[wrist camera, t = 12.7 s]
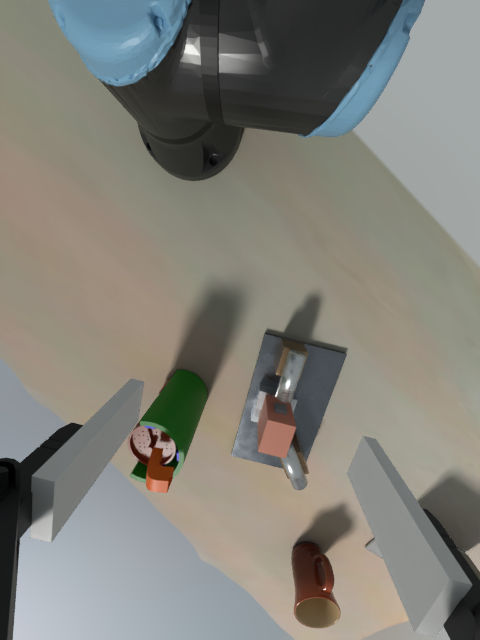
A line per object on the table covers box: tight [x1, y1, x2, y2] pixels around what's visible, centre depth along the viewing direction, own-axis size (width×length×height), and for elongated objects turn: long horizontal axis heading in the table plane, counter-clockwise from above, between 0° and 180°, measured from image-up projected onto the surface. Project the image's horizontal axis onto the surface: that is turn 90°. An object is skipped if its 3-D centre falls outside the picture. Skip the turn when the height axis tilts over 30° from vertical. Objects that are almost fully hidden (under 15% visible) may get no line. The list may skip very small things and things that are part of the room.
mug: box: [291, 542, 340, 628], centre depth 52 cm, size 12×9×10 cm
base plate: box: [231, 333, 347, 469], centre depth 44 cm, size 27×15×8 cm, turn 167°
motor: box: [128, 370, 207, 493], centre depth 39 cm, size 10×9×20 cm
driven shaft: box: [279, 435, 309, 490], centre depth 46 cm, size 8×4×7 cm, turn 22°
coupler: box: [257, 395, 296, 458], centre depth 42 cm, size 7×4×7 cm, turn 167°
